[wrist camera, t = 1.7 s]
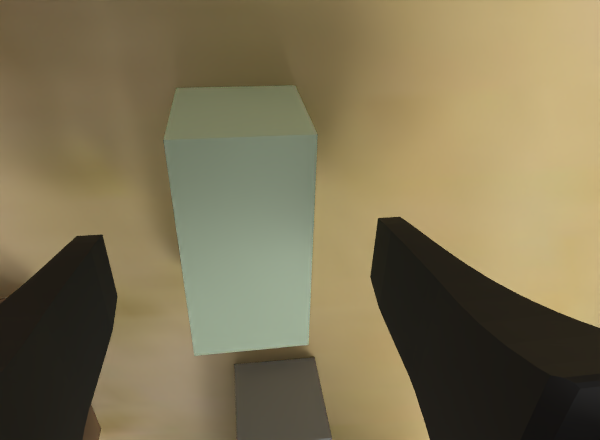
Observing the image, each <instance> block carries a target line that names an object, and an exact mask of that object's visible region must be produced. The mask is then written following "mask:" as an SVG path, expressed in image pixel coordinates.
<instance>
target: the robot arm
mask: <svg viewBox="0 0 600 440" xmlns="http://www.w3.org/2000/svg"><path fill="white" fill-rule="evenodd" d="M370 277H371V281H372V285H373V288H374V292H375V296H376V299H377V302H378V306H379V309H380V311H381V313H382V316H383V318H384V320H385V323H386V325H387V327H388V330H389V332H390V334H391V336H392V339H393V341H394V343H395V345H396V348H397V350H398V352H399V354H400V357H401V359H402V361H403V363H404V366H405V368H406V370H407V372H408V375H409V377H410V380H411V382H412V385H413V387H414V390H415V393H416V396H417V399H418V402H419V405H420V409H421V412H422V415H423V418H424V421H425V424H426V428H427V431H428V434H429V438H430V440H600V328H598V327H595V326H592V325H589V324H587V323H584V322H581V321H578V320H576V319H573V318H571V317H568V316H566V315H563V314H561V313H558V312H556V311H554V310H551V309H549V308H547V307H545V306H542V305H540V304H538V303H535V302H533V301H531V300H529V299H527V298H525V297H523V296H521V295H519V294H517V293H515V292H513V291H511V290H509V289H507V288H506V287H504V286H502V285H500V284H498V283H496V282H495V281H493V280H491V279H489V278H488V277H486V276H484V275H483V274H481V273H480V272H478V271H476V270H475V269H473V268H472V267H470V266H468V265H467V264H465V263H464V262H462V261H461V260H459V259H458V258H456V257H455V256H453V255H452V254H451V253H449V252H448V251H446V250H445V249H444V248H442V247H441V246H439V245H438V244H437V243H435V242H434V241H433V240H431V239H430V238H428V237H427V236H426V235H424V234H423V233H422V232H420V231H419V230H418V229H416V228H415V227H414V226H412V225H411V224H409V223H408V222H407V221H405V220H404V219H402V218H401V217H391V218H378V224H377V231H376V239H375V246H374V254H373V261H372V269H371V276H370ZM116 303H117V292H116V288H115V284H114V280H113V276H112V272H111V268H110V264H109V260H108V256H107V252H106V247H105V243H104V239H103V235H88V236H77V237H76V238H74V239H73V240H72V241H71V242H70V243H69V244H67V245H66V246H65V247H64V248H63V249H62V250H61V251H60V252H59V253H58V254H57V255H56V256H54V257H53V258H52V259H51V260H50V261H49V262H48V263H47V264H46V265H45V266H44V267H43V268H41V269H40V270H39V271H38V272H37V273H36V274H35V275H34V276H33V277H31V278H30V279H29V280H28V281H27V282H26V283H25V284H24V285H22V286H21V287H20V288H19V289H18V290H16V291H15V292H14V293H13V294H11V295H10V296H9V297H8V298H7V299H5V300H4V301H3V302H2V303H0V440H83V435H84V429H85V424H86V420H87V416H88V412H89V408H90V405H91V402H92V398H93V395H94V392H95V388H96V385H97V382H98V378H99V375H100V372H101V368H102V365H103V362H104V358H105V355H106V351H107V348H108V344H109V341H110V337H111V334H112V330H113V324H114V317H115V310H116Z"/></svg>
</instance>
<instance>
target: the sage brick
mask: <svg viewBox="0 0 600 440" xmlns="http://www.w3.org/2000/svg"><path fill="white" fill-rule="evenodd" d="M317 136H318V134H317V132H316V130H315V128H314V125H313V123H312V121H311V119H310V117H309V114H308V112H307V110H306V108H305V106H304V104H303V101H302V99H301V97H300V95H299V93H298V90H297V88H296V86H295V85H283V86H237V87H192V88H176V90H175V94H174V99H173V103H172V107H171V111H170V115H169V119H168V123H167V127H166V131H165V136H164V140H163V141H164V148H165V155H166V162H167V169H168V176H169V183H170V189H171V196H172V203H173V210H174V217H175V224H176V231H177V238H178V245H179V252H180V259H181V266H182V273H183V280H184V287H185V294H186V301H187V308H188V315H189V322H190V329H191V336H192V343H193V350H194V356H199V355H209V354H220V353H230V352H240V351H251V350H261V349H271V348H282V347H292V346H303V345H308V344H309V321H310V298H311V275H312V252H313V229H314V206H315V182H316V159H317Z"/></svg>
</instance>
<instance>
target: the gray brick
mask: <svg viewBox="0 0 600 440" xmlns="http://www.w3.org/2000/svg"><path fill="white" fill-rule="evenodd" d="M234 368H235V399H236V430H237V440H332V436H331V431H330V427H329V422H328V417H327V413H326V408H325V403H324V399H323V394H322V389H321V385H320V380H319V375H318V371H317V366H316V361H315V357H314V358H302V359H290V360H279V361H267V362H255V363H243V364H234Z"/></svg>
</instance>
